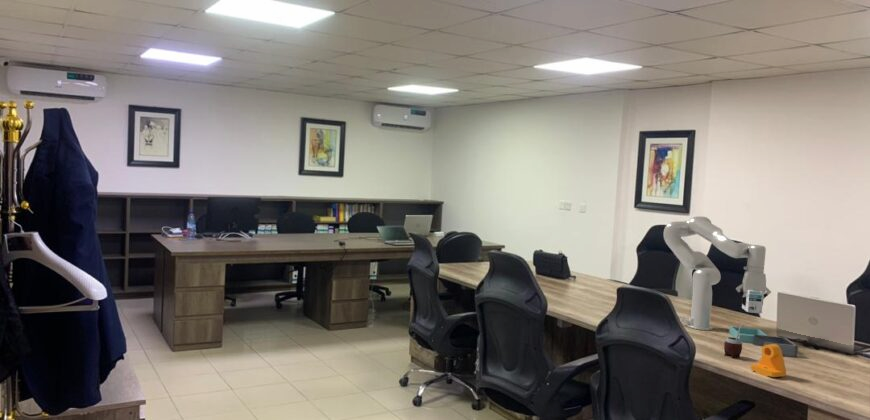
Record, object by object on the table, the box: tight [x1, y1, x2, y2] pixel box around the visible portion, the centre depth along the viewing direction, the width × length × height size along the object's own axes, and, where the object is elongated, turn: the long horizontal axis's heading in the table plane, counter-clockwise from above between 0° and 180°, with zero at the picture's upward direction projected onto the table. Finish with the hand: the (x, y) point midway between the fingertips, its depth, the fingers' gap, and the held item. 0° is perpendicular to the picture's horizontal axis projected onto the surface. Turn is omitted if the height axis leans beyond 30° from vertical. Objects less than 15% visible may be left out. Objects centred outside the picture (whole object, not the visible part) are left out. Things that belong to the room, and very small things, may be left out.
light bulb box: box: [741, 290, 765, 314], centre depth 310 cm, size 11×7×11 cm, turn 168°
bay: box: [752, 334, 799, 358], centre depth 290 cm, size 14×16×5 cm
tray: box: [728, 325, 769, 344], centre depth 311 cm, size 14×18×4 cm
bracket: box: [750, 344, 787, 378], centre depth 251 cm, size 11×7×12 cm, turn 25°
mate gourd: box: [723, 322, 745, 359], centre depth 275 cm, size 8×8×15 cm
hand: (751, 305), depth 310 cm, fingers closed on light bulb box, 6 cm apart
